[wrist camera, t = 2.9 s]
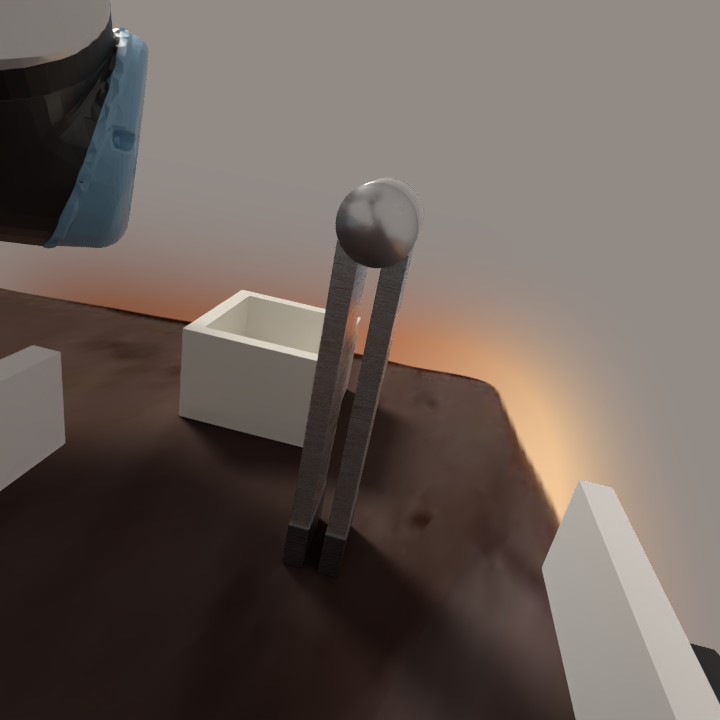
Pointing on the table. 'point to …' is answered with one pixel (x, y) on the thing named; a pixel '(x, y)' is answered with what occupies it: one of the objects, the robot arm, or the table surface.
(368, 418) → the tongs
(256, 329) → the caddy
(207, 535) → the table surface
